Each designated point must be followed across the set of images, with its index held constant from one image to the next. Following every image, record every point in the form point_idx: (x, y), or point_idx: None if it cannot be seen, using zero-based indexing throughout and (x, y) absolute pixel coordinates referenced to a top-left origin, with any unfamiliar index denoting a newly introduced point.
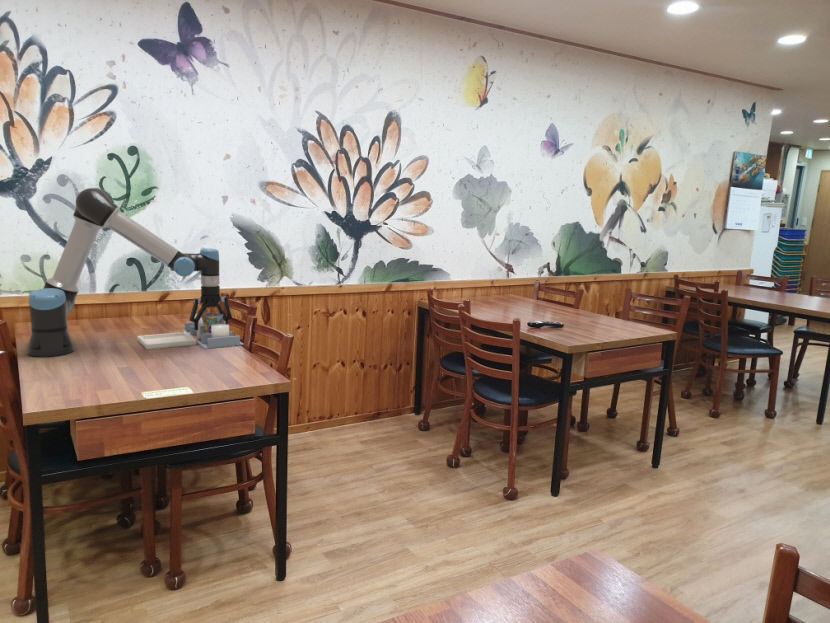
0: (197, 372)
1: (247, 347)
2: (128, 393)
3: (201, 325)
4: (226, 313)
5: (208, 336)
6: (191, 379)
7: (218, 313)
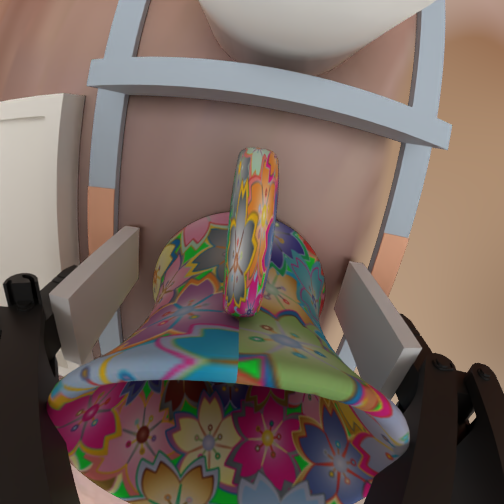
0: (90, 496)
1: None
2: None
3: (238, 39)
4: (483, 409)
5: None
6: (81, 500)
7: (389, 440)
